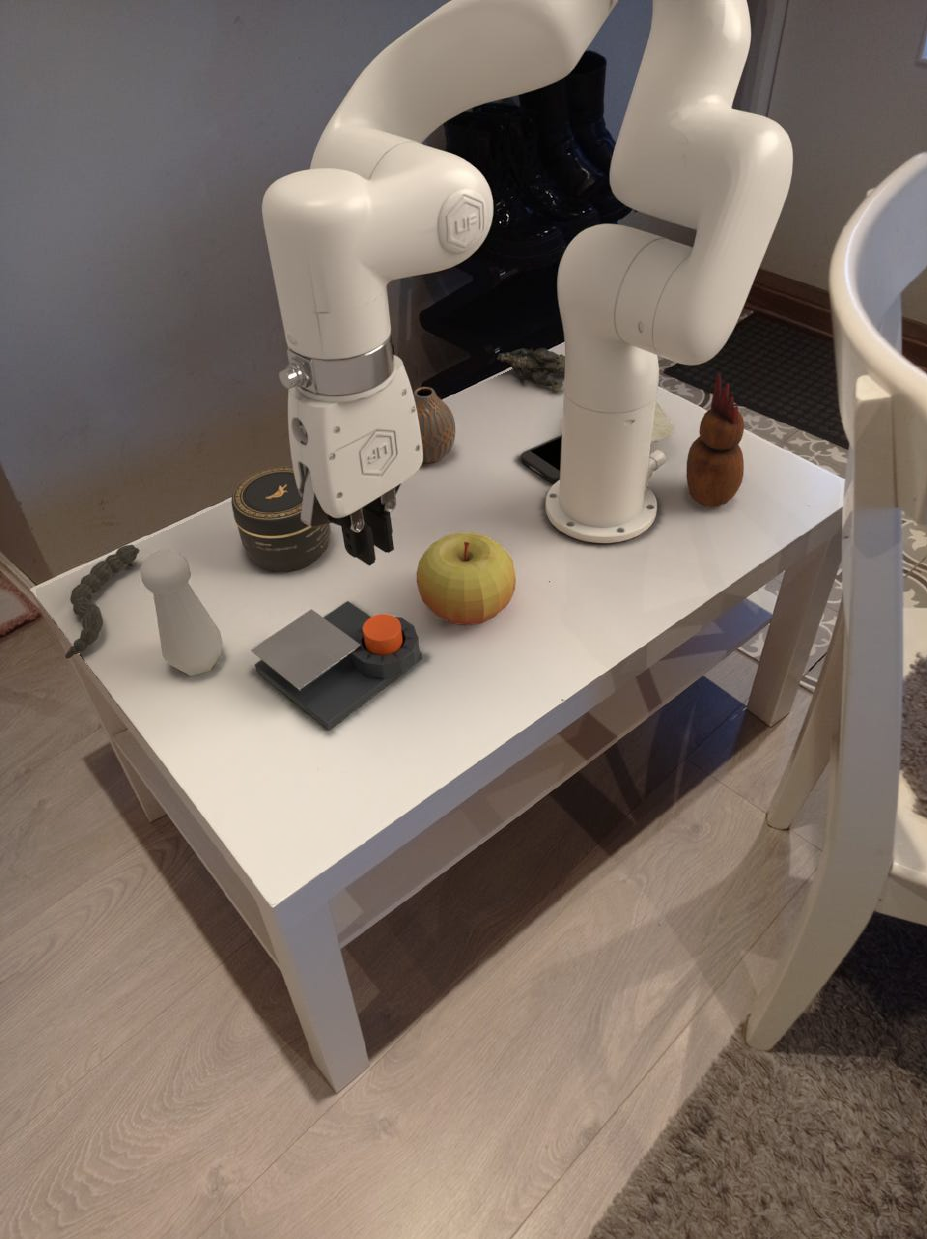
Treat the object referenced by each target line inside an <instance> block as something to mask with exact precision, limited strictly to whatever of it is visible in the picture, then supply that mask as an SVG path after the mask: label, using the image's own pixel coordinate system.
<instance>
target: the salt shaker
mask: <svg viewBox="0 0 927 1239" xmlns="http://www.w3.org/2000/svg"><path fill="white" fill-rule="evenodd" d="M139 571H140V578H141V582H142V584H143V587H144V588H145V589H147V590H148V591H149V592H150V593H152V594H153V601H154V605H155V606H154V607H155V615H156V621H157V626H158V628H157V629H158V634H159V640H160V646H161V647H160V648H161V651H162V653H161V654H162V657H163V659H164V660H165V661H166V662H167V663H168V664H169V665H170V666H172V667H173V668H174V669H176V670H178V671H180V672H182V673H183V674H186V675H187V676H190V677H193V676H197V675H201V674H204V673H208V672H211V670H212V669H213V667H214V666H215V665H216V663H217V662H218V660H219V659H220V656H221V652H222V648H223V645H224V641H223V637H222V633H221V630H220V628H219V627H218V626H217V624H216V622H215V621H214V619H213V618H212V616H211V615H210V613H209V612H208V610H207V609H206V607H205V606H204V604H203V603H202V602H201V600H200V598H199V597H198V595H197V594H196V592H195V591H194V589H193V587H191V585H190V583H189V582H190V579H191V577H192V572H191V567H190V563H189V560H188V559H187V558H186V556H185V555H183V554H182V553H181V552H178V551H174V550H169V549H168V550H167V549H166V550H160V551H157V552H155V553H152V554H150V555H149V556H148V557H146V558H145V559H144V560H143V562H142V564H141V566H140V568H139Z"/></svg>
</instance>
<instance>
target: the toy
mask: <svg viewBox="0 0 927 1239" xmlns="http://www.w3.org/2000/svg"><path fill="white" fill-rule="evenodd" d="M140 551H141V550H140V548H138V547H136V546H135V545H133V544H128V545H127V544H126V545H122V546H120V547H119V548H118V549H117V550H116V552H115V553H113V554H110V555H108V556H107V557H105V560H102V561H99V562H97V563H96V564H94V565H93V566H92V567H91V569H90V571H89V573H88V574H86V575H84V576H83V577H82V578H81V579H80V584H78V585H76V586H75V587H74V588H73V589H72V591H71V592H70V593H71V594H70V598H69V601H70V603H71V605H72V611H73V613H74V615H76V616H78V618H80V619H81V626H82V629H81V631H80V635H79V638H77V639H75V640H74V642H73V645H72V646H70V647H69V649H68V650H67V651H66V653H65V655H64V657H65V659H70V658H72V657H73V656H74V655H77V654H78V653H81V652H84V651H86V650H87V648H88V646H91V645H93V644H94V643H95V642H96V641H97V640H98V638H99V635H100V632H101V631H102V627H103V624H104V617H103V614H102V611H101V608H100V606H98V605H97V604H96V603H94V602H91V599H92V596H93V594H95V593H97V592H98V591H99V590H100V589H101V587H102V586H104V585H106V584H107V583H109V581H110V580H111V579H112V575H113V574H118V573H120V572H122V571H123V570H124V568H125V566H128V567H129V568H130V567H133V563H134V562H135V560H136V559H137V557H138V554H139V553H140Z"/></svg>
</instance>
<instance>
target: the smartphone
mask: <svg viewBox="0 0 927 1239" xmlns="http://www.w3.org/2000/svg"><path fill="white" fill-rule="evenodd" d="M561 445H562V434H560V435H558V436H556V437H554V438H551V439H549V440H547V441H545V442H542V443H541V444H539V445H536V446H534V447H532V448H530V449H527V450H525V451H524V452H522V453H521V454H520V456H519V459H520V462H521V463H523V464H524V465H525V466H527V467H529V468H530V469H531V470H533V471H534V472H536V473H537V474H538V475H540V476H541V477H543V478H544V479H545V480H547V481H549V482H551V483H556V482H557V481H558V480H560V469H561Z"/></svg>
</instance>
